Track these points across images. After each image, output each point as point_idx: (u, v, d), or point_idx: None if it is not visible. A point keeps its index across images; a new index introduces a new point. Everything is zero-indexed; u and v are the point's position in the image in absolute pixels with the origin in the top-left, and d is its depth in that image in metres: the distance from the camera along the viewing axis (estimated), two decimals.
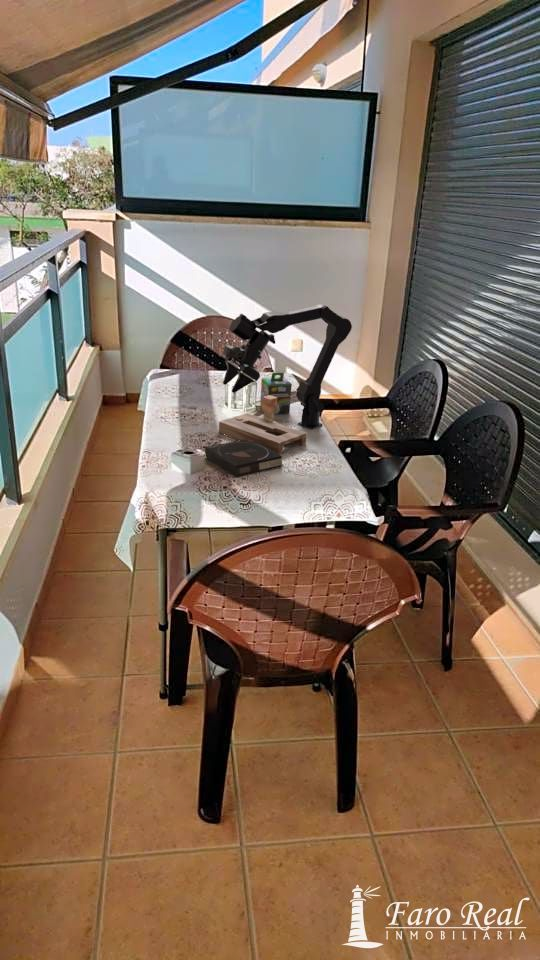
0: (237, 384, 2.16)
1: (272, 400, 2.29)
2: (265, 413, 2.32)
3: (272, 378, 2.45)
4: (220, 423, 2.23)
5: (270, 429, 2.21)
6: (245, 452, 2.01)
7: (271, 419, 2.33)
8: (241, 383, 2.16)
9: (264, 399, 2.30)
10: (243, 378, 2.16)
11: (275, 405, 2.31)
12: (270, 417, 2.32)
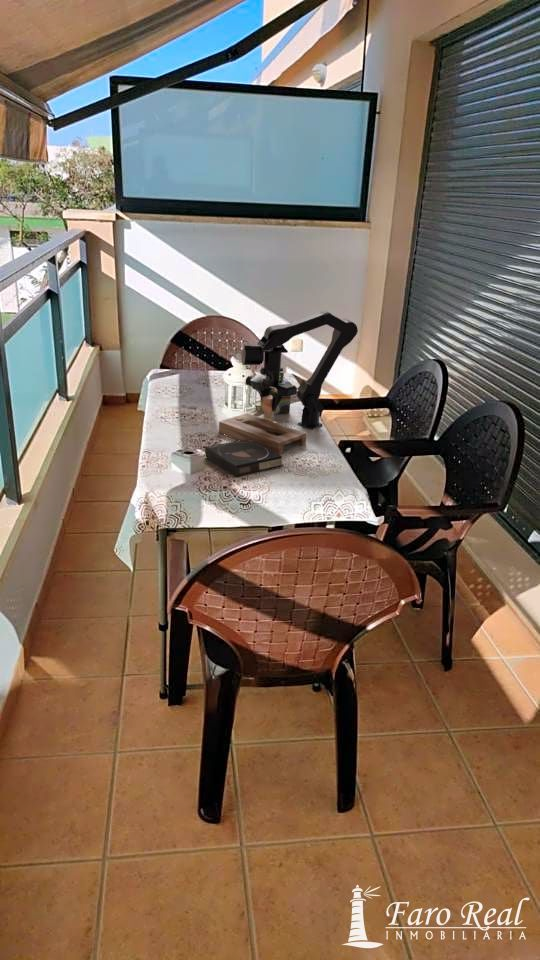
0: (275, 403, 2.29)
1: None
2: (265, 413, 2.32)
3: None
4: (220, 423, 2.23)
5: (270, 429, 2.21)
6: (245, 452, 2.01)
7: (271, 419, 2.33)
8: (277, 400, 2.29)
9: (264, 399, 2.30)
10: (277, 395, 2.28)
11: None
12: (270, 417, 2.32)
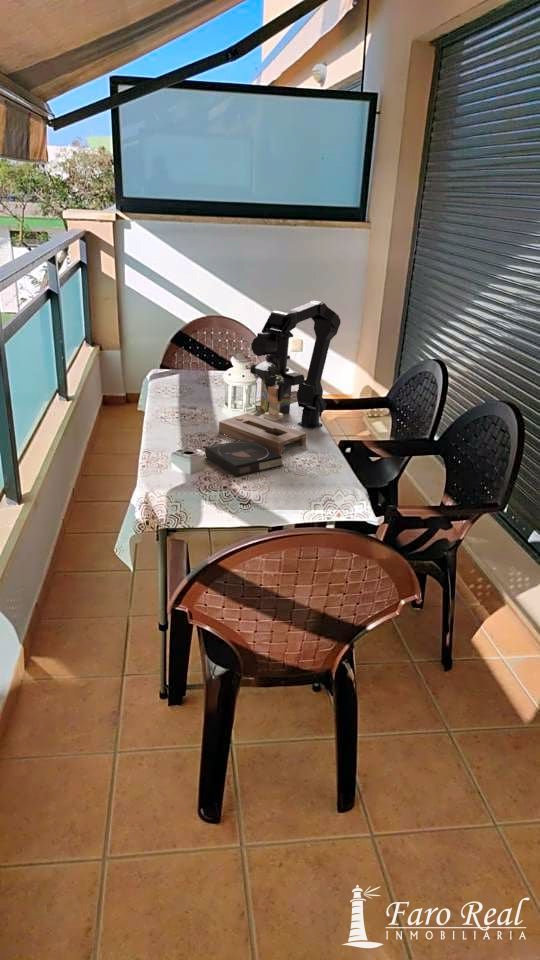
0: (281, 393, 2.15)
1: None
2: (270, 404, 2.18)
3: None
4: (220, 423, 2.23)
5: (270, 429, 2.21)
6: (245, 452, 2.01)
7: (277, 410, 2.19)
8: (283, 390, 2.15)
9: (269, 389, 2.16)
10: (283, 385, 2.14)
11: None
12: (276, 408, 2.18)
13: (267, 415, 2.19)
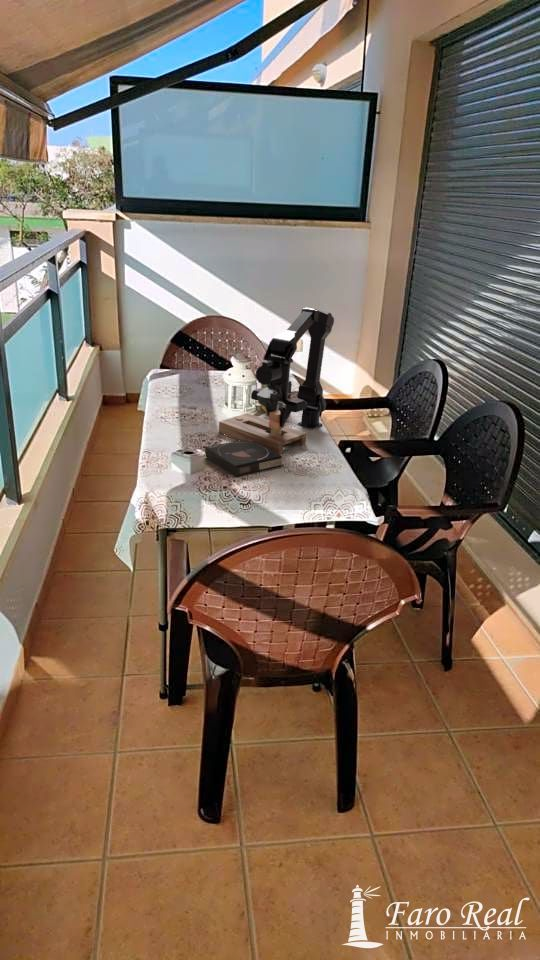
0: (283, 419, 2.13)
1: None
2: (272, 429, 2.17)
3: None
4: (220, 423, 2.23)
5: (270, 429, 2.21)
6: (245, 452, 2.01)
7: None
8: (285, 415, 2.14)
9: (271, 414, 2.14)
10: None
11: None
12: (277, 433, 2.17)
13: None
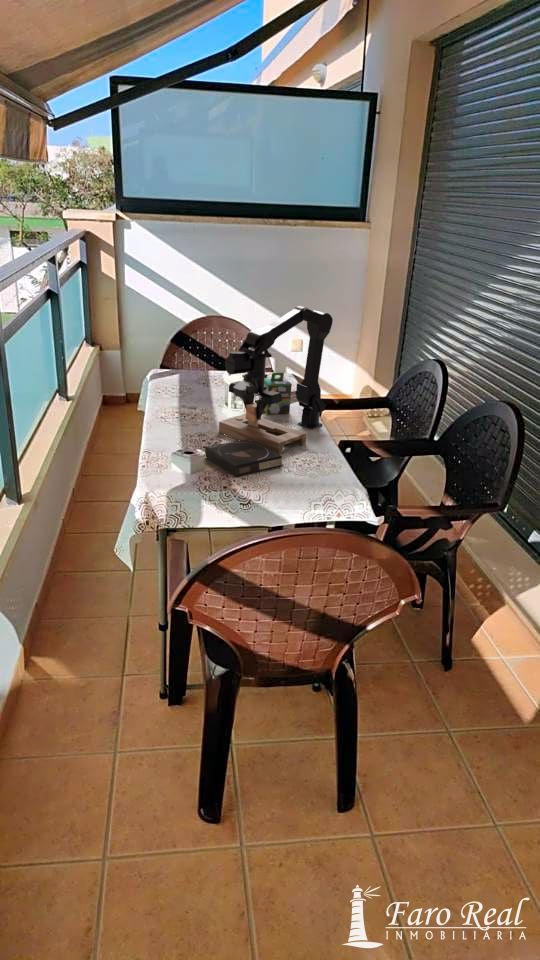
0: (259, 411, 2.19)
1: (256, 408, 2.19)
2: (249, 421, 2.22)
3: (272, 378, 2.45)
4: (220, 423, 2.23)
5: (270, 429, 2.21)
6: (245, 452, 2.01)
7: None
8: (262, 408, 2.19)
9: (248, 407, 2.20)
10: None
11: None
12: (254, 425, 2.22)
13: None
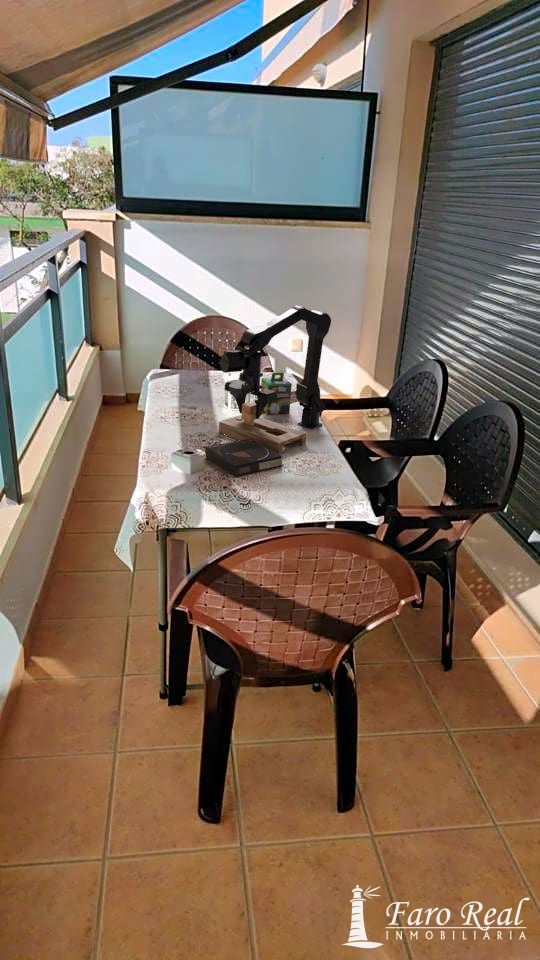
0: (259, 411, 2.19)
1: (252, 407, 2.20)
2: (245, 421, 2.23)
3: (272, 378, 2.45)
4: (220, 423, 2.23)
5: (270, 429, 2.21)
6: (245, 452, 2.01)
7: None
8: (261, 407, 2.19)
9: (244, 406, 2.21)
10: None
11: (255, 412, 2.23)
12: None
13: None
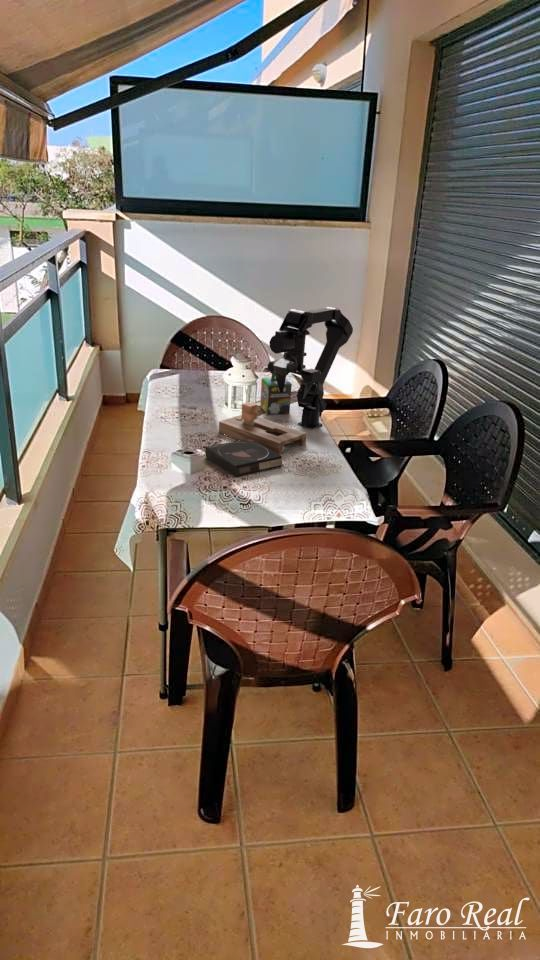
0: (305, 391, 2.20)
1: (252, 407, 2.20)
2: (245, 421, 2.23)
3: (272, 378, 2.45)
4: (220, 423, 2.23)
5: (270, 429, 2.21)
6: (245, 452, 2.01)
7: None
8: (307, 388, 2.20)
9: (244, 406, 2.21)
10: (307, 383, 2.19)
11: (255, 412, 2.23)
12: None
13: None
